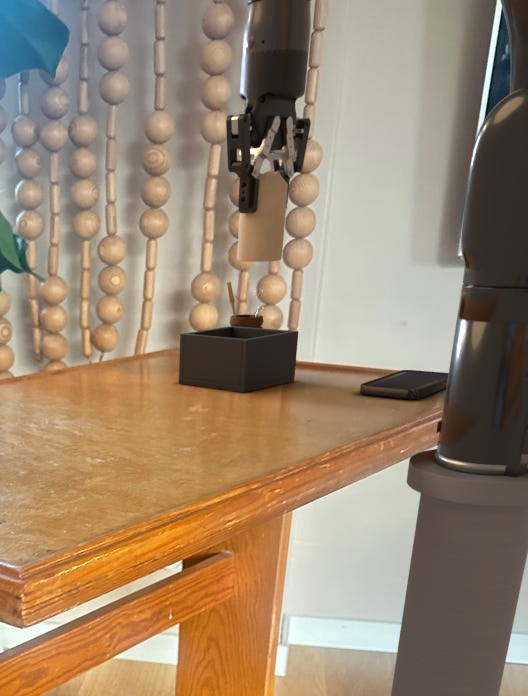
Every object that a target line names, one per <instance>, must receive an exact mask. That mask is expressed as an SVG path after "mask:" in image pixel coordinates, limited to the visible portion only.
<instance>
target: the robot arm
mask: <svg viewBox="0 0 528 696" xmlns="http://www.w3.org/2000/svg"><path fill="white" fill-rule="evenodd" d="M311 1H312V0H247V6H246V13H245V19H244V24H243V32H242V46H241V63H240V79H239V98H240V99H241V100H242V101H246V102H245V107H244V110H243V113H237V114H228V115H227V116H226V119H225V128H226V152H227V153H226V155H227V170H228V172H229V173H234V174H235V175H236V176H237V178H238V179H239V184H238V185H239V186H238V202H237V205H238V212H239V214H240V213H255V212H256V211H257V202H258V189H259V179H256V178H257V177H258V176H259V173H261V169H262V166H263V164H264V161H265V160H267V161H269V166H270V171H271V172H277V171H278V172H279V173H280V175H281V176H282V177H283V179H284V180H285V181H286V183H287V184H288V190H287V202H286V210H287V208H288V203H289V202H288V201H289V194H290V193H289V191H290V180H291V179H292V178H293V177H294V174H296V173H302V171H303V168H304V162H305V157H306V151H307V146H308V141H309V136H310V130H311V124H312V122H311V121H312V120H311V118H309V117H305V118H304V117H302V118H300V117H298V115H297V110H296V101H297V100H298V99H300V98H302V97H303V96H305V94H306V93H305V92H306V84H307V75H308V74H307V72H308V61H309V50H310V39H311V27H312V19H311V17H312V16H311V5H312V4H311ZM500 4H501V8H502V11H503V15H504V19H505V24H506V29H507V34H508V40H509V53H510V54H509V55H510V78H509V79H510V80H509V94H508V95H506V96H505V97H504V98H502V99H501V100H500V101H499V102H498V103H497V104H496V105H495V106H493V108H492V109H491V110H490V112H488V114H487V115H486V117H485V119H484V120H483V122H482V124H481V126H480V128H479V130H478V132H477V135H476V138H475V141H474V144H473V148H472V152H471V157H470V161H469V167H468V174H467V182H466V190H465V191H466V192H465V199H464V200H465V201H464V208H463V218H462V228H461V237H460V247H461V248H460V250H461V254H462V255H461V256H462V260H463V275H462V282H461V283H462V285H461V288H460V289H461V290H460V297H459V302H458V310H457V317H456V323H455V328H454V330H455V331H454V336H453V341H452V348H451V354H450V355H451V356H450V360H449V361H450V362H449V368H448V373H449V374H448V380H447V387H446V388H445V393H444V394H445V395H444V401H443V408H442V413H441V420H439V421H437V425H436V426H437V427H436V434H438V439H437V443H436V444H437V446H436V448H435V449H436V453H435V460H434V461H435V463H436V464H438V465H439V466H441V467H443V468H446V469H449V470H453V471H457V472H463V473H469V474H477V475H494V476H509V477H519V476H521V475H524V474H526V473H528V0H500ZM238 150H239V152H238ZM238 153H239V156H240V160H239V159H238ZM295 153H296V154H295ZM294 155H295V159H293V156H294ZM252 160H253V161H252ZM293 160H294V161H293ZM280 161H281V163H280Z"/></svg>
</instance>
